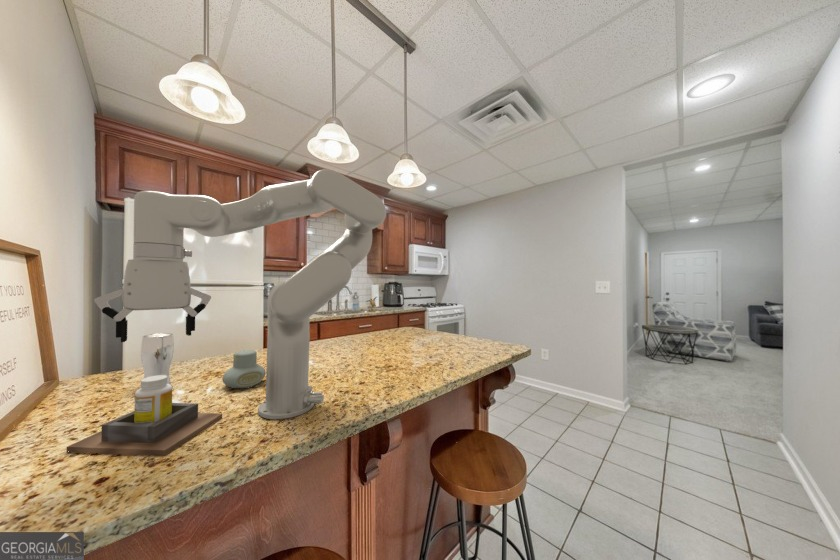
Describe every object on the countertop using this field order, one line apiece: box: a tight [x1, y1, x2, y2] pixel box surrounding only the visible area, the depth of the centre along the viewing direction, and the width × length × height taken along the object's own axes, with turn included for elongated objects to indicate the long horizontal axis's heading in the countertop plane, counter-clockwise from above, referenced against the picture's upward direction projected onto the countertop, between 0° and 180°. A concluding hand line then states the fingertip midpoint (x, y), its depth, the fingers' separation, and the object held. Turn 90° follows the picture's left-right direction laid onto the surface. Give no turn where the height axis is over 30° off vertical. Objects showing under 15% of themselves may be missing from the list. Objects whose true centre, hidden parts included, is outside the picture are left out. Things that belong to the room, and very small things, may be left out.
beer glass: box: [140, 332, 175, 385], centre depth 82 cm, size 7×7×15 cm
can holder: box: [66, 402, 223, 457], centre depth 57 cm, size 18×14×4 cm
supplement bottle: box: [134, 375, 173, 423], centre depth 57 cm, size 6×6×10 cm
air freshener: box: [222, 349, 266, 390], centre depth 84 cm, size 11×8×10 cm
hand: (158, 337), depth 57 cm, fingers open, 9 cm apart
